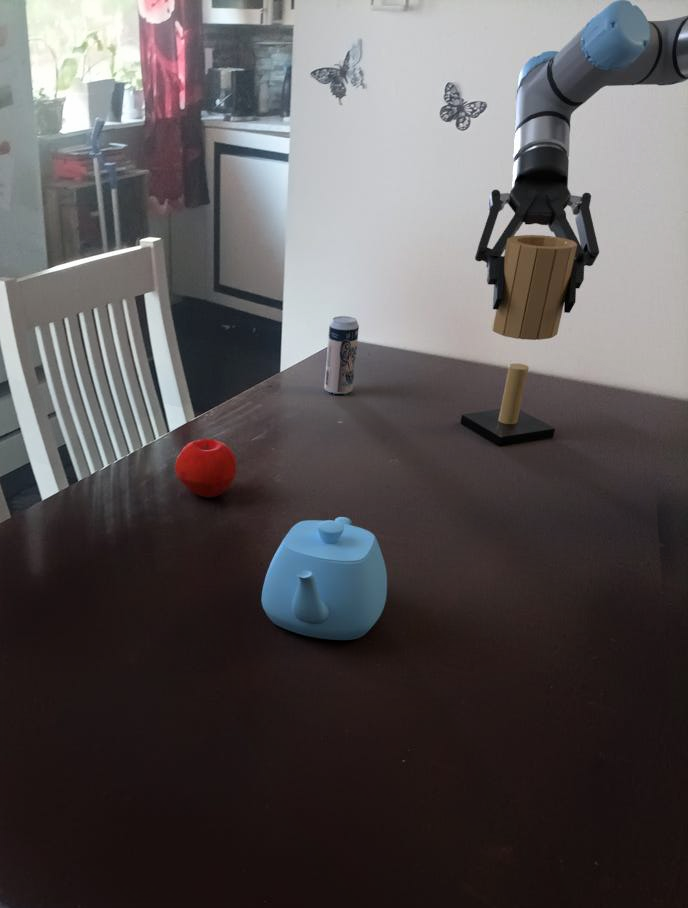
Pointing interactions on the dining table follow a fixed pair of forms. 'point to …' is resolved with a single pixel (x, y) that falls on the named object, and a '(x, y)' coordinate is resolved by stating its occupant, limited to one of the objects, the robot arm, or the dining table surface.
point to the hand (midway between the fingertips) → (533, 305)
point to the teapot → (326, 580)
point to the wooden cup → (534, 286)
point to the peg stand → (509, 415)
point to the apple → (206, 467)
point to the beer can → (341, 355)
